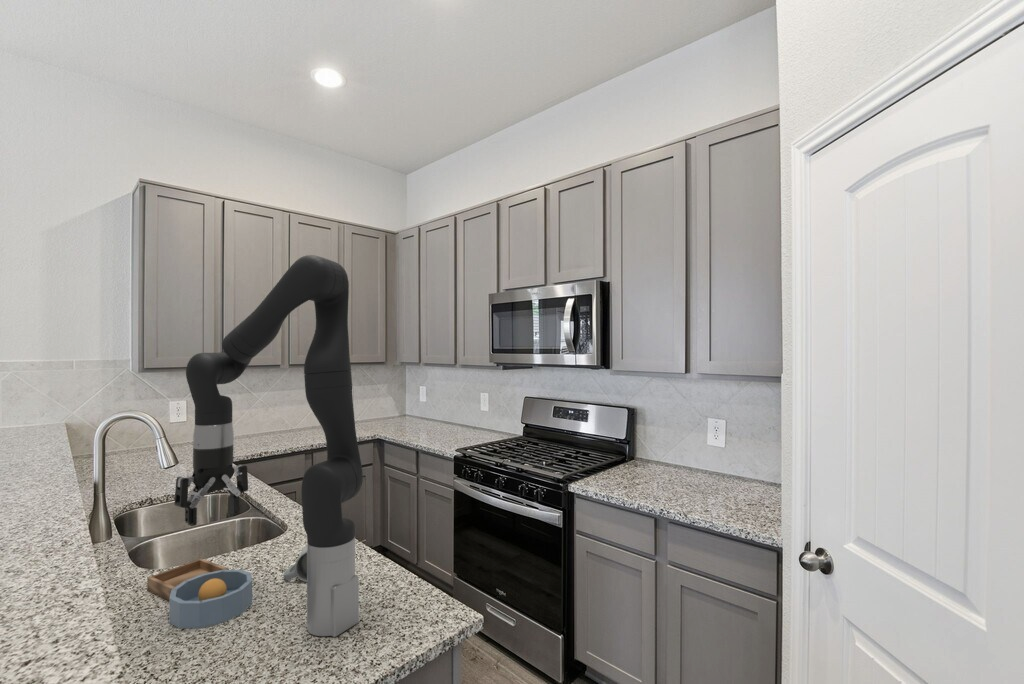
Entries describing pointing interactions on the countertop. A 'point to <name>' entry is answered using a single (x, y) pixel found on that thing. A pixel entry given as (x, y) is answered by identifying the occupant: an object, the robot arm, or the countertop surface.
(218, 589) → the ball
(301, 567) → the ceramic mug
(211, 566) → the tray
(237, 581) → the faceted grey bowl
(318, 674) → the countertop surface
